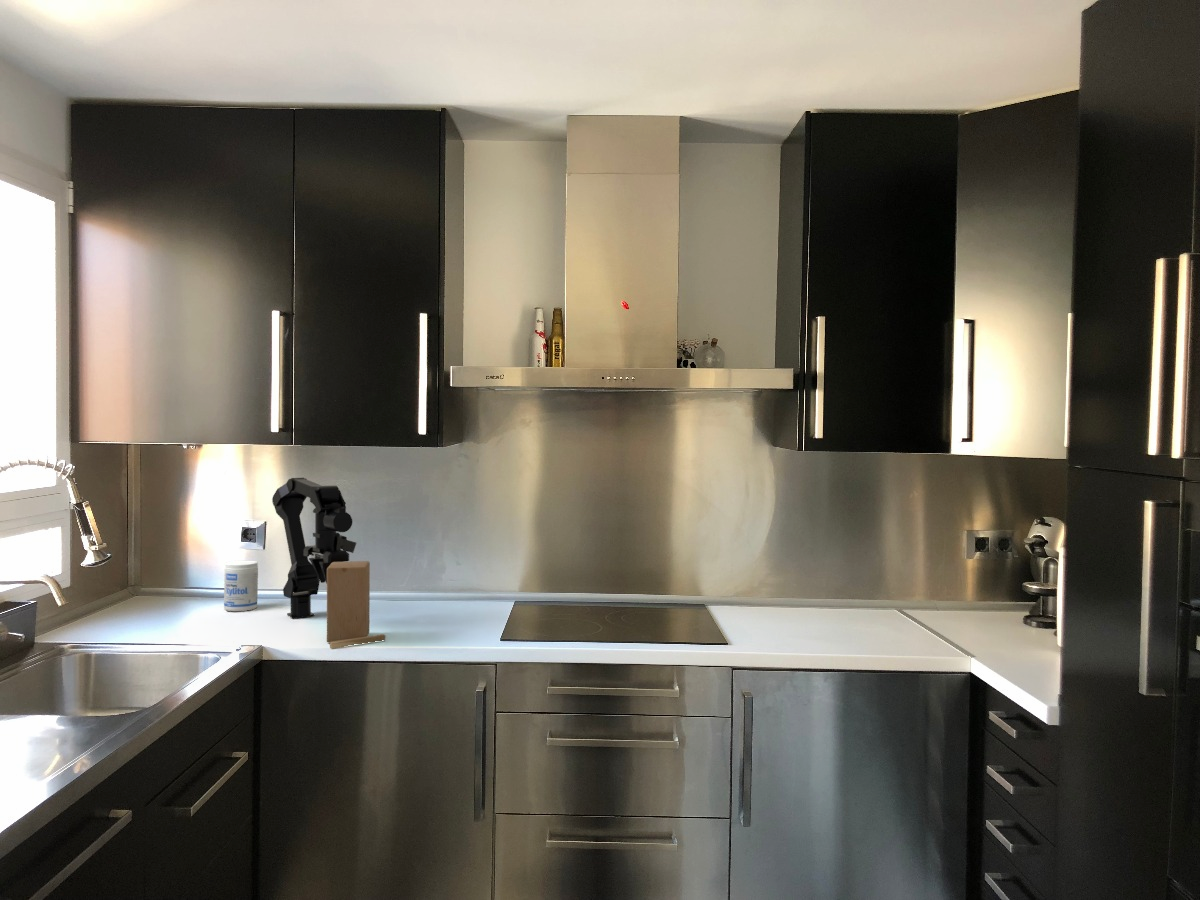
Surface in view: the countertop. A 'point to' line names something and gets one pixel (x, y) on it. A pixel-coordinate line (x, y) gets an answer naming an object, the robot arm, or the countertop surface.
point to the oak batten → (356, 641)
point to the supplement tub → (241, 585)
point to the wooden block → (348, 600)
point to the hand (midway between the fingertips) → (325, 583)
